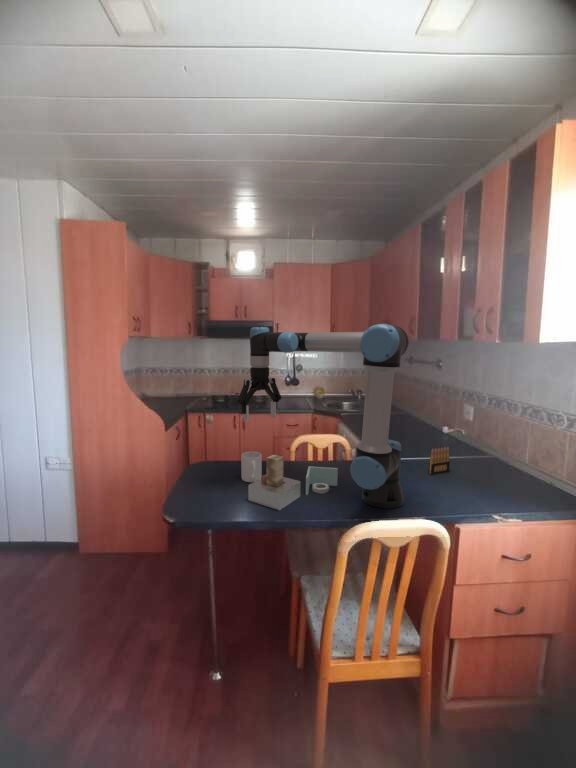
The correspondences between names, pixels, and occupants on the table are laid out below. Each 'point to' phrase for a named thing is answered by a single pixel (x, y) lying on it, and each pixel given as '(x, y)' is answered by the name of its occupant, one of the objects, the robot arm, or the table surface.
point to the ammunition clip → (439, 461)
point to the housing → (274, 493)
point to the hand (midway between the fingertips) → (260, 419)
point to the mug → (251, 466)
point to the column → (274, 471)
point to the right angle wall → (321, 479)
